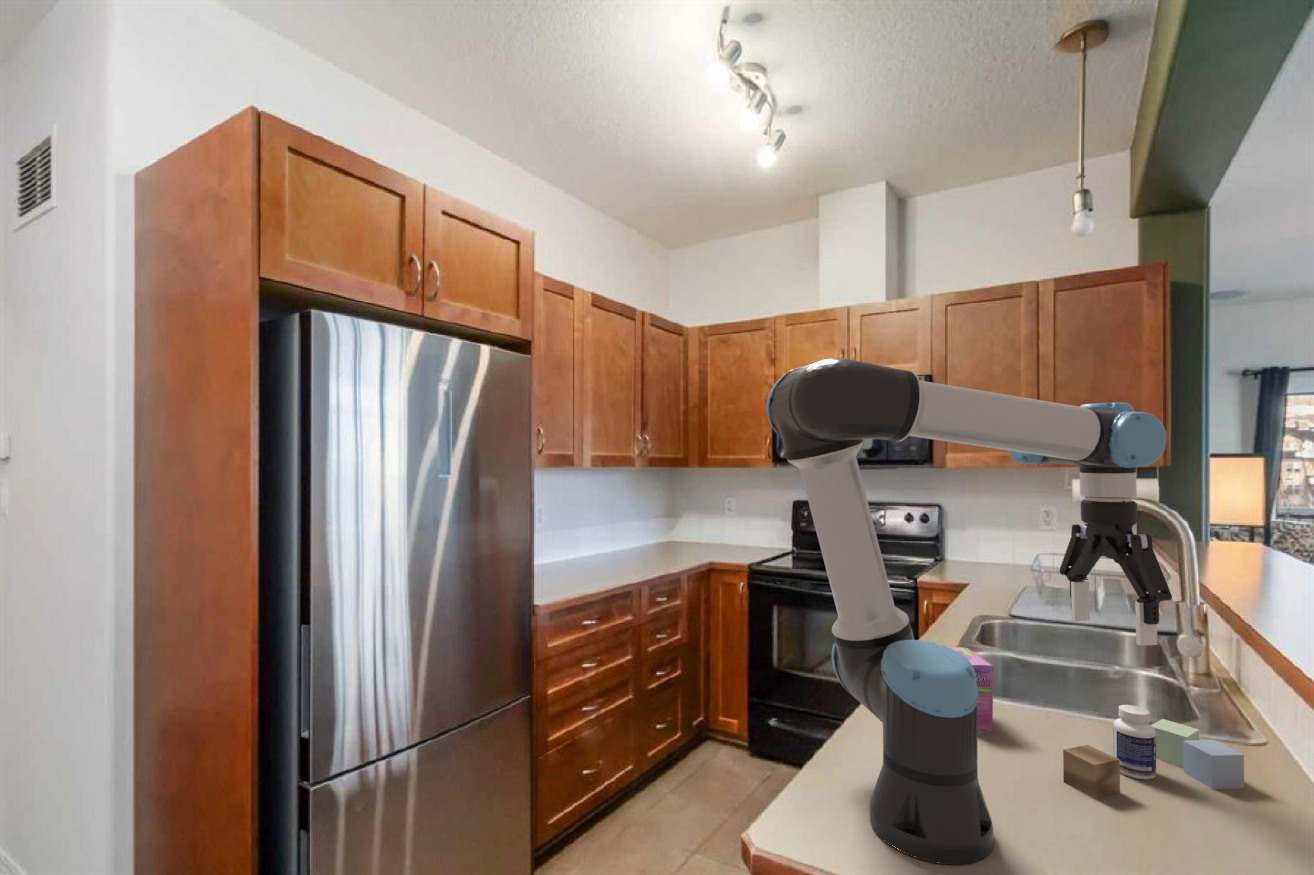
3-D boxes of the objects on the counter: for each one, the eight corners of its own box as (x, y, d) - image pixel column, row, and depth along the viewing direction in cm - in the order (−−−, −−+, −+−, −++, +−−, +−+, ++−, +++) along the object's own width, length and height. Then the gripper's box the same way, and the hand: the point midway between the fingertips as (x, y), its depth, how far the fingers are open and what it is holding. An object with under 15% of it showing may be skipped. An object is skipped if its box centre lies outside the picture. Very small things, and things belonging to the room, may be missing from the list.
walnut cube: (1094, 799, 95) (1094, 764, 95) (1063, 782, 100) (1063, 749, 100) (1120, 793, 97) (1119, 759, 97) (1088, 777, 101) (1087, 744, 101)
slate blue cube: (1212, 789, 98) (1211, 755, 98) (1183, 772, 103) (1183, 740, 103) (1244, 788, 98) (1243, 754, 98) (1214, 771, 103) (1213, 739, 103)
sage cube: (1187, 769, 104) (1186, 737, 104) (1150, 756, 108) (1149, 725, 108) (1199, 760, 107) (1199, 729, 107) (1162, 748, 111) (1162, 718, 111)
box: (994, 731, 118) (993, 664, 118) (962, 731, 118) (961, 664, 118) (967, 707, 128) (967, 646, 128) (938, 707, 128) (937, 646, 128)
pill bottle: (1163, 782, 100) (1163, 717, 100) (1124, 779, 101) (1123, 714, 101) (1145, 765, 105) (1144, 703, 105) (1107, 762, 106) (1106, 701, 106)
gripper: (1200, 505, 94) (1204, 655, 93) (1074, 492, 118) (1077, 610, 118) (1151, 507, 93) (1155, 657, 93) (1035, 493, 118) (1038, 612, 118)
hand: (1111, 631), depth 106 cm, fingers open, 13 cm apart
